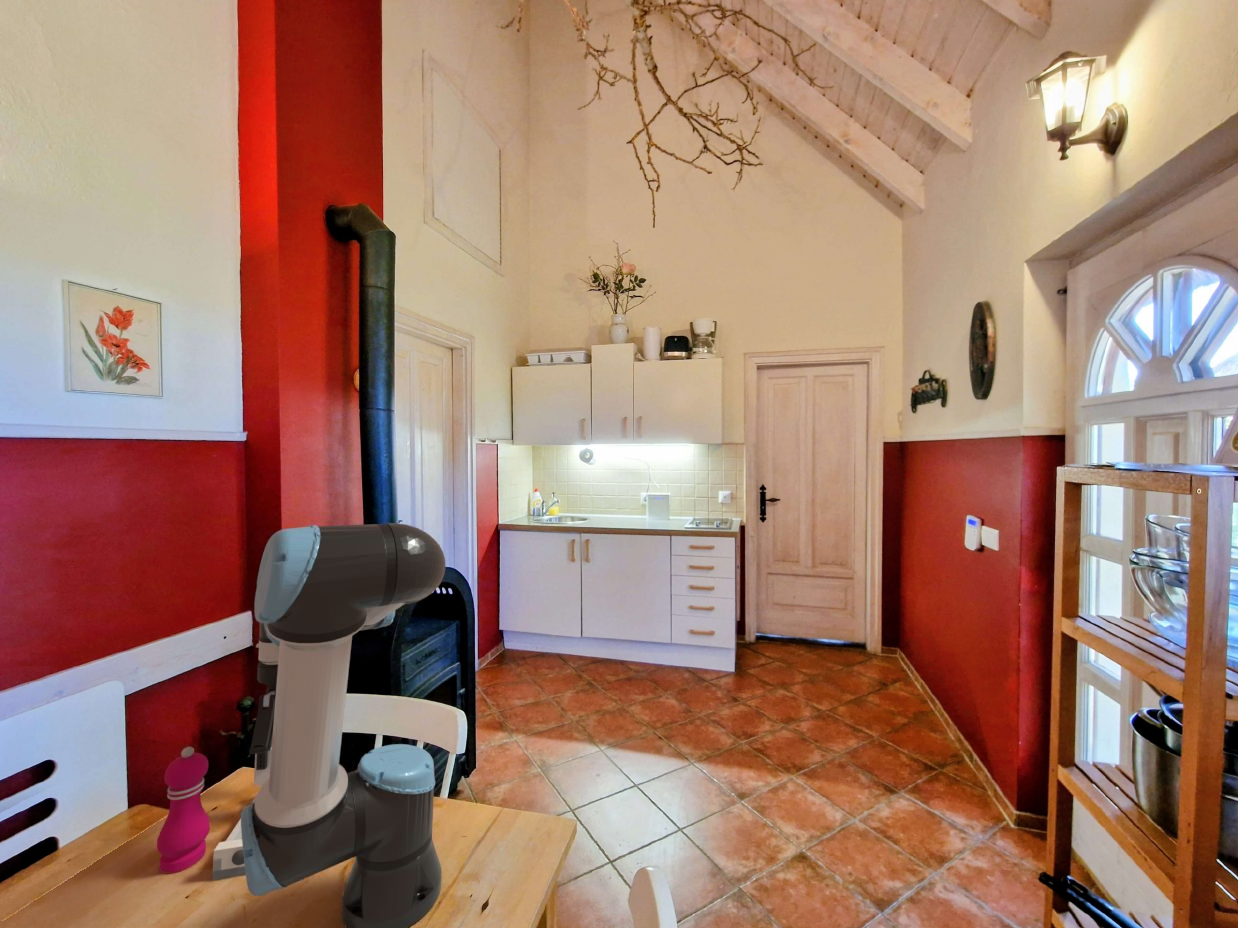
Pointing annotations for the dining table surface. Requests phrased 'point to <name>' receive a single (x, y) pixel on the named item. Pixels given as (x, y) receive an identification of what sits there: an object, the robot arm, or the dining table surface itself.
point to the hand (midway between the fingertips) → (276, 764)
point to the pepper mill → (184, 814)
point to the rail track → (230, 855)
